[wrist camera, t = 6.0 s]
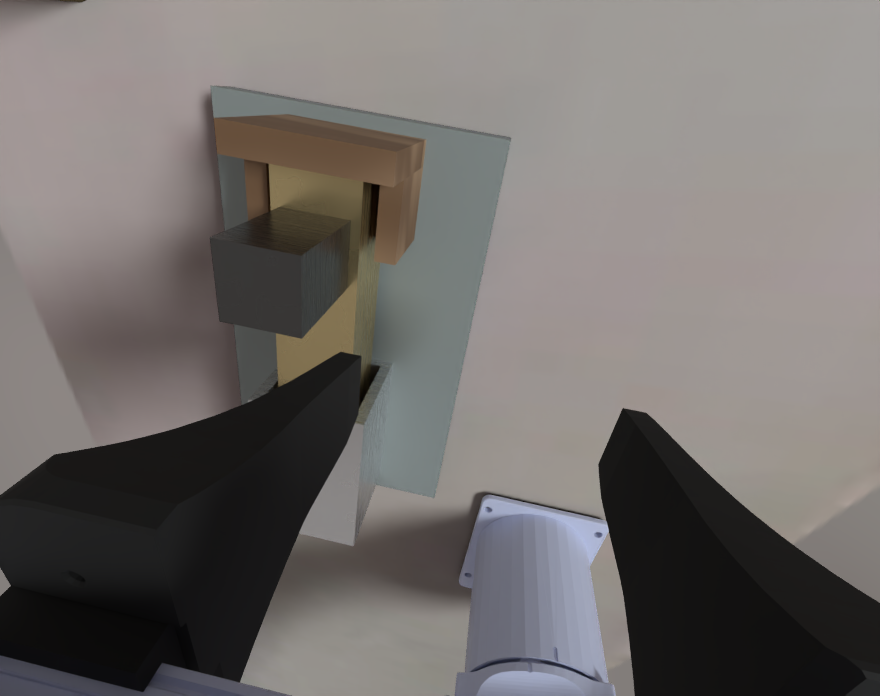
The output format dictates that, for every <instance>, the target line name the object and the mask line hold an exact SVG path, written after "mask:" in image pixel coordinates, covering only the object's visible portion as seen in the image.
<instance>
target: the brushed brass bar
mask: <svg viewBox="0 0 880 696" xmlns="http://www.w3.org/2000/svg"><path fill="white" fill-rule="evenodd" d="M269 182H270V206H271V211H269V212H267V213H264V214H262V215H260V216H258V217H255V218H253V219H251V220H249V221H246V222H244V223H242V224H239V225H237V226H235V227H233V228H230V229H228V230H226V231H224V232H221V233H219V234H217V235H214V236H212V237H210V243H211V252H212V260H213V269H214V278H215V286H216V295H217V304H218V312H219V321H220V322H225V323H230V324H234V325H239V326H244V327H249V328H253V329H258V330H263V331H268V332H272V333H276V346H277V369H278V387H280V386H282V385H284V384H286V383H288V382H290V381H291V380H293V379H295V378H297V377H298V376H300V375H302V374H304V373H305V372H307V371H309V370H310V369H312V368H314V367H315V366H317V365H319V364H320V363H322V362H324V361H325V360H327V359H329V358H330V357H332V356H334V355H336V354H337V353H339V352H345V353H350V354H355V355H360V356H362V360H361V378H360V395H359V408H360V406H361V404H362V402H363V400H364V398H365V396H366V394H367V392H368V390H369V384H370V372H371V361H372V349H373V337H374V326H375V314H376V303H377V291H378V280H379V268H380V262H375V261H374V254H375V242H376V229H377V216H378V204H379V191H380V185H378V184H373V183H367V182H362V181H357V180H352V179H346V178H341V177H336V176H331V175H325V174H320V173H315V172H310V171H304V170H299V169H294V168H289V167H284V166H278V165H273V164H269Z"/></svg>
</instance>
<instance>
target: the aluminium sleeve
mask: <svg viewBox="0 0 880 696" xmlns="http://www.w3.org/2000/svg"><path fill="white" fill-rule="evenodd" d="M392 366H393V363H391V362H386V361H382V360H377V359H372V361H371V372H370V384H369V390H368V392H367V394H366V396H365V398H364V400H363V402H362V404H361V406H360V408H359V413H358V416H357V419H356V422H355V424H354V427H353V430H352V432H351V434H350V437H349V439H348V442H347V444H346V446H345V448H344V450H343V452H342V453H341V455H340V457H339V459H338V461H337V462H336V464H335V466H334V468H333V470H332V471H331V473H330V475H329V477H328V479H327V480H326V482H325V484H324V486H323V488H322V489H321V491H320V493H319V495H318V496H317V498H316V500H315V502H314V504H313V505H312V507H311V509H310V511H309V513H308V515H307V517H306V519H305V521H304V523H303V525H302V527H301V530H300V532H299V534H303V535H308V536H312V537H316V538H320V539H325V540H329V541H333V542H337V543H341V544H346V545H350V546H354V544H355V541H356V538H357V536H358V533H359V530H360V527H361V525H362V522H363V519H364V516H365V514H366V511H367V508H368V505H369V503H370V500H371V497H372V494H373V492H374V489H375V486H376V483H377V481H378V478H379V475H380V470H381V461H382V452H383V444H384V435H385V427H386V418H387V409H388V401H389V392H390V384H391V375H392ZM276 388H278V369H277V368H276V369H275V370H274V371H273V372H272V373H271V374H270V375H269V377H268V378H267V379H266V380H265V381H264V382H263V383H262V384H261V385H260V387H259V388H258V389H257V390H256V391H255V392H254V393H253V394H252V395H251V397H250V398H249V399H248V402H250V401H252V400H254V399H256V398H259V397H260V396H262V395H264V394H266V393H268V392H270V391H272V390H274V389H276Z"/></svg>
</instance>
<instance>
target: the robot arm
mask: <svg viewBox="0 0 880 696" xmlns="http://www.w3.org/2000/svg"><path fill="white" fill-rule="evenodd" d="M361 360H362V356H360V355H355V354H350V353H345V352H339V353H337V354H336V355H334V356H332V357H330V358H329V359H327V360H325V361H324V362H322V363H320V364H319V365H317V366H315V367H314V368H312V369H310V370H309V371H307V372H305V373H304V374H302V375H300V376H298V377H297V378H295V379H293V380H291V381H290V382H288V383H286V384H284V385H282V386H280V387H278V388H276V389H274V390H272V391H270V392H268V393H266V394H264V395H262V396H260V397H259V398H256V399H254V400H252V401H250V402H248V403H245V404H243V405H241V406H238V407H236V408H233V409H231V410H228V411H226V412H223V413H221V414H218V415H215V416H213V417H210V418H207V419H203V420H200V421H197V422H194V423H191V424H188V425H185V426H182V427H179V428H176V429H172V430H169V431H165V432H162V433H158V434H154V435H150V436H146V437H142V438H138V439H134V440H130V441H125V442H121V443H116V444H111V445H106V446H100V447H95V448H90V449H84V450H79V451H73V452H68V453H61V454H56V455H53V456H52V457H50V458H49V459H48V460H46V461H45V462H44V463H42V464H41V465H40V466H39V467H37V468H36V469H34V470H33V471H32V472H30V473H29V474H28V475H27V476H25V477H24V478H22V479H21V480H20V481H19V482H17V483H16V484H15V485H13V486H12V487H11V488H9V489H8V490H7V491H5V492H4V493H3V494H1V495H0V568H1V570H2V571H3V573H4V574H5V576H6V578H7V580H8V581H9V583H10V585H11V587H9V588H8V590H6V591H5V592H4V593H3V594H2V595H1V596H0V696H291V695H287V694H283V693H279V692H275V691H271V690H267V689H263V688H259V687H255V686H251V685H247V684H243V683H240V680H241V677H242V675H243V672H244V669H245V667H246V664H247V661H248V659H249V656H250V653H251V650H252V648H253V645H254V642H255V640H256V637H257V635H258V632H259V629H260V627H261V624H262V622H263V619H264V617H265V614H266V611H267V609H268V606H269V604H270V601H271V599H272V596H273V594H274V591H275V589H276V586H277V584H278V582H279V579H280V577H281V574H282V572H283V569H284V567H285V565H286V562H287V560H288V557H289V555H290V553H291V550H292V548H293V546H294V543H295V541H296V539H297V536H298V534H299V532H300V530H301V527H302V525H303V523H304V521H305V519H306V517H307V515H308V513H309V511H310V509H311V507H312V505H313V504H314V502H315V500H316V498H317V496H318V495H319V493H320V491H321V489H322V488H323V486H324V484H325V482H326V480H327V479H328V477H329V475H330V473H331V471H332V470H333V468H334V466H335V464H336V462H337V461H338V459H339V457H340V455H341V453H342V452H343V450H344V448H345V446H346V444H347V442H348V439H349V437H350V434H351V432H352V430H353V427H354V424H355V422H356V419H357V416H358V413H359V395H360V378H361ZM598 465H599V478H600V489H601V499H602V503H603V508H604V512H605V516H606V521H607V522H606V521H604V520H601V519H596V518H592V517H588V516H583V515H579V514H574V513H570V512H565V511H561V510H557V509H552V508H548V507H543V506H539V505H534V504H530V503H526V502H521V501H517V500H512V499H508V498H504V497H499V496H495V495H485V496H484V497H483V498H482V502H481V505H480V508H479V512H478V515H477V519H476V522H475V525H474V529H473V532H472V536H471V539H470V542H469V546H468V549H467V553H466V556H465V559H464V563H463V566H462V569H461V573H460V576H459V584H460V585H461V586H464V587H467V588H472V594H471V605H470V616H469V627H468V638H467V649H466V661H465V673H460V672H459V673H457V678H456V687H455V696H616V694H615V688H614V685H613V684H611V683H608V676H607V670H606V664H605V658H604V652H603V645H602V639H601V633H600V627H599V621H598V615H597V608H596V602H595V596H594V590H593V584H592V578H591V571H590V565H591V563H592V561H593V559H594V557H595V556H596V554H597V552H598V550H599V548H600V546H601V544H602V543H603V541H604V539H605V537H606V535H607V533H608V531H609V534H610V538H611V542H612V546H613V550H614V554H615V559H616V563H617V567H618V571H619V575H620V580H621V585H622V590H623V595H624V602H625V610H626V617H627V625H628V633H629V641H630V651H631V660H632V668H633V678H634V691H635V696H880V603H879V602H877V601H876V600H874V599H872V598H871V597H869V596H867V595H866V594H864V593H863V592H861V591H860V590H858V589H856V588H855V587H853V586H852V585H850V584H849V583H847V582H846V581H844V580H843V579H841V578H840V577H838V576H836V575H835V574H834V573H832V572H831V571H829V570H828V569H826V568H825V567H823V566H822V565H821V564H819V563H818V562H816V561H815V560H813V559H812V558H811V557H809V556H808V555H806V554H805V553H803V552H802V551H801V550H799V549H798V548H796V547H795V546H794V545H792V544H791V543H790V542H788V541H787V540H786V539H784V538H783V537H782V536H780V535H779V534H778V533H777V532H775V531H774V530H773V529H772V528H770V527H769V526H768V525H767V524H765V523H764V522H763V521H761V520H760V519H759V518H758V517H756V516H755V515H754V514H753V513H751V512H750V511H749V510H748V509H747V508H746V507H744V506H743V505H742V504H741V503H740V502H739V501H737V500H736V499H735V498H734V497H733V496H732V495H731V494H730V493H729V492H727V491H726V490H725V489H724V488H723V487H722V486H721V485H720V484H719V483H717V482H716V481H715V480H714V479H713V478H712V477H711V476H710V475H709V474H708V473H707V472H706V471H705V470H704V469H703V468H702V467H701V466H700V465H699V464H698V463H697V462H696V461H695V460H694V459H693V458H692V457H691V456H690V455H689V454H688V453H687V452H686V451H685V450H684V449H683V448H682V447H681V446H680V445H679V444H678V443H677V442H676V441H675V440H674V439H673V438H672V437H671V436H670V435H669V434H668V433H667V432H666V431H665V430H664V429H663V428H662V427H661V426H660V425H659V424H658V423H657V422H656V421H655V420H654V419H652V418H651V417H650V416H649V415H648V414H647V413H644V412H639V411H634V410H629V409H624V408H623V409H622V411H621V414H620V416H619V418H618V421H617V423H616V425H615V427H614V430H613V432H612V434H611V437H610V439H609V441H608V443H607V446H606V448H605V450H604V453H603V455H602V457H601V460H600V462H599V464H598ZM487 507H490V508H487ZM446 696H448V695H446Z"/></svg>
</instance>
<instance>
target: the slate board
mask: <svg viewBox="0 0 880 696" xmlns="http://www.w3.org/2000/svg"><path fill="white" fill-rule="evenodd" d="M211 96H212V106H213V116H214V118H218V117H239V116H260V115H281V114H291V115H296V116H301V117H307V118H312V119H318V120H323V121H329V122H334V123H339V124H345V125H350V126H356V127H361V128H367V129H372V130H378V131H383V132H388V133H394V134H399V135H405V136H410V137H416V138H421V139H426V148H425V156H424V164H423V172H422V180H421V188H420V196H419V205H418V213H417V221H416V229H415V237H414V241H413V242H412V243H411V245H410V246H409V247H408V249H407V250H406V251H405V253H404V254H403V255H402V257H401V258H400V260H399V261H398V262H397V264H396V265H390V264H385V263H380V268H379V280H378V291H377V303H376V314H375V326H374V337H373V349H372V359H377V360H382V361H386V362H391V363H393V366H392V375H391V384H390V392H389V401H388V409H387V418H386V427H385V435H384V444H383V452H382V461H381V470H380V475H379V478H378V481H377V483H376V485H380V486H384V487H388V488H393V489H397V490H402V491H406V492H410V493H415V494H419V495H423V496H428V497H432V498H434V497H435V493H436V488H437V483H438V479H439V474H440V469H441V465H442V460H443V455H444V450H445V446H446V441H447V436H448V432H449V427H450V422H451V418H452V413H453V408H454V404H455V399H456V394H457V389H458V385H459V380H460V375H461V371H462V366H463V361H464V357H465V352H466V347H467V343H468V338H469V333H470V328H471V324H472V319H473V314H474V310H475V305H476V300H477V296H478V291H479V286H480V282H481V277H482V272H483V267H484V263H485V258H486V253H487V249H488V244H489V239H490V235H491V230H492V225H493V221H494V216H495V211H496V206H497V202H498V197H499V192H500V188H501V183H502V178H503V174H504V169H505V164H506V160H507V155H508V150H509V145H510V141H511V138H510V137H505V136H499V135H494V134H488V133H483V132H477V131H472V130H466V129H461V128H455V127H450V126H444V125H439V124H433V123H428V122H422V121H417V120H411V119H406V118H400V117H395V116H389V115H384V114H378V113H373V112H367V111H362V110H356V109H351V108H345V107H340V106H334V105H329V104H323V103H318V102H312V101H307V100H301V99H296V98H290V97H285V96H279V95H274V94H268V93H263V92H257V91H252V90H246V89H241V88H235V87H225V86H211ZM217 158H218V168H219V178H220V188H221V199H222V209H223V219H224V229H225V231H226V230H228V229H230V228H233V227H235V226H237V225H239V224H242V223H244V222H246V221H248V212H247V198H246V183H245V169H244V159H242V158H236V157H231V156H226V155H221V154H217ZM234 332H235V342H236V352H237V363H238V373H239V383H240V393H241V404H242V405H243V404H245V403H248V399H249V398H250V397H251V395H252V394H253V393H254V392H255V391H256V390H257V389H258V388H259V387H260V385H261V384H262V383H263V382H264V381H265V380H266V379H267V378H268V377H269V375H270V374H271V373H272V372H273V371H274V370H275V369H276V368H277V346H276V333H272V332H268V331H263V330H258V329H253V328H249V327H244V326H239V325H234Z"/></svg>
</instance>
